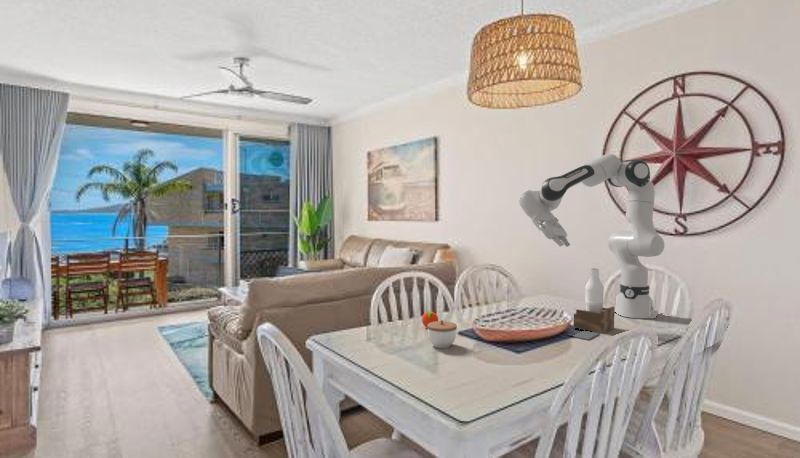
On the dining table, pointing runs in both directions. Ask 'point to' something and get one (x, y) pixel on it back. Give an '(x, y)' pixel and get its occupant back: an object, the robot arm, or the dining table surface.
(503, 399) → the dining table surface
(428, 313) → the tomato
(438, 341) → the lidded jar
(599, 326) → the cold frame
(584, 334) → the mat
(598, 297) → the water bottle
